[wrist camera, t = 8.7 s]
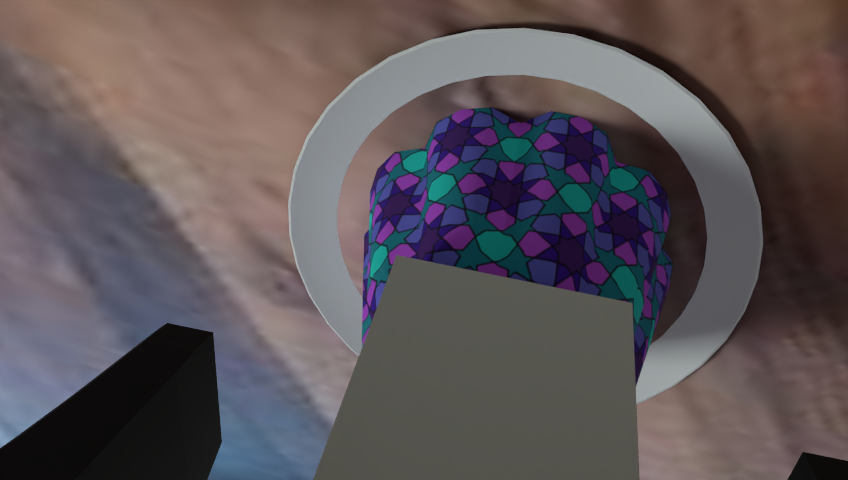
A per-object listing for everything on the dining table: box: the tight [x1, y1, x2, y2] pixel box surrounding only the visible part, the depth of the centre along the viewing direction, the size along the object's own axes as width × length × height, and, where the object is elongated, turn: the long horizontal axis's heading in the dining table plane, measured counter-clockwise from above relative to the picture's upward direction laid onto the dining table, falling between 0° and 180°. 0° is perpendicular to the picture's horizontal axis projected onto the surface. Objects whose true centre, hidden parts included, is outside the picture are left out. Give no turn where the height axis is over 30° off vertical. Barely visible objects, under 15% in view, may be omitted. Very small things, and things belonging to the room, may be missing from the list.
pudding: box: [288, 28, 763, 404], centre depth 19 cm, size 12×12×5 cm
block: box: [313, 255, 639, 480], centre depth 14 cm, size 5×5×6 cm
